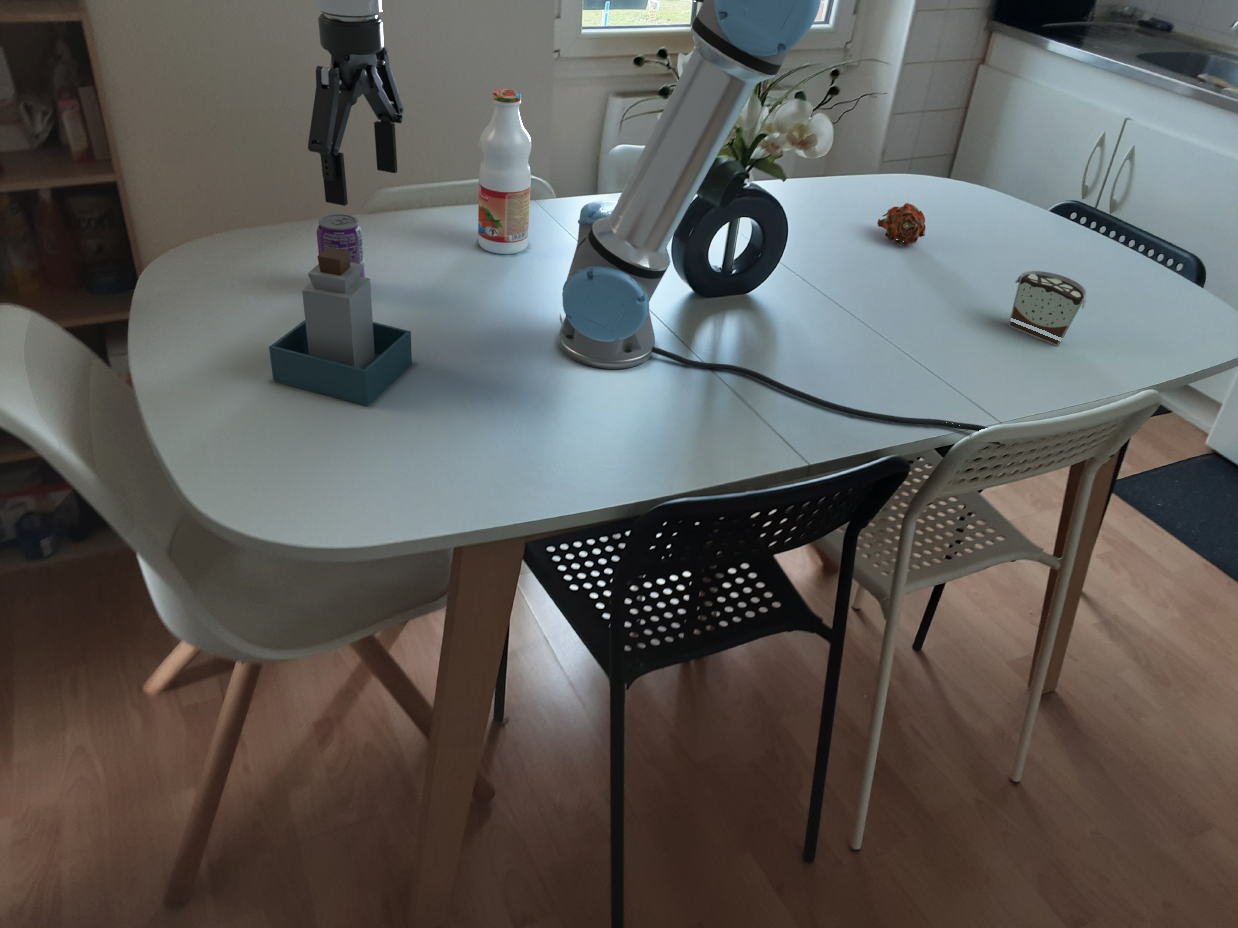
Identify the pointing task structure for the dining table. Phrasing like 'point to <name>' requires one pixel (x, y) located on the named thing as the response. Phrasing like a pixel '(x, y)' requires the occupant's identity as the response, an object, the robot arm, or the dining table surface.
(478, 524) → the dining table surface
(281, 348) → the case
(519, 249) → the fruit juice
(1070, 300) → the food container
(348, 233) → the beverage can
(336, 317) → the perfume bottle
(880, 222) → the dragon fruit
